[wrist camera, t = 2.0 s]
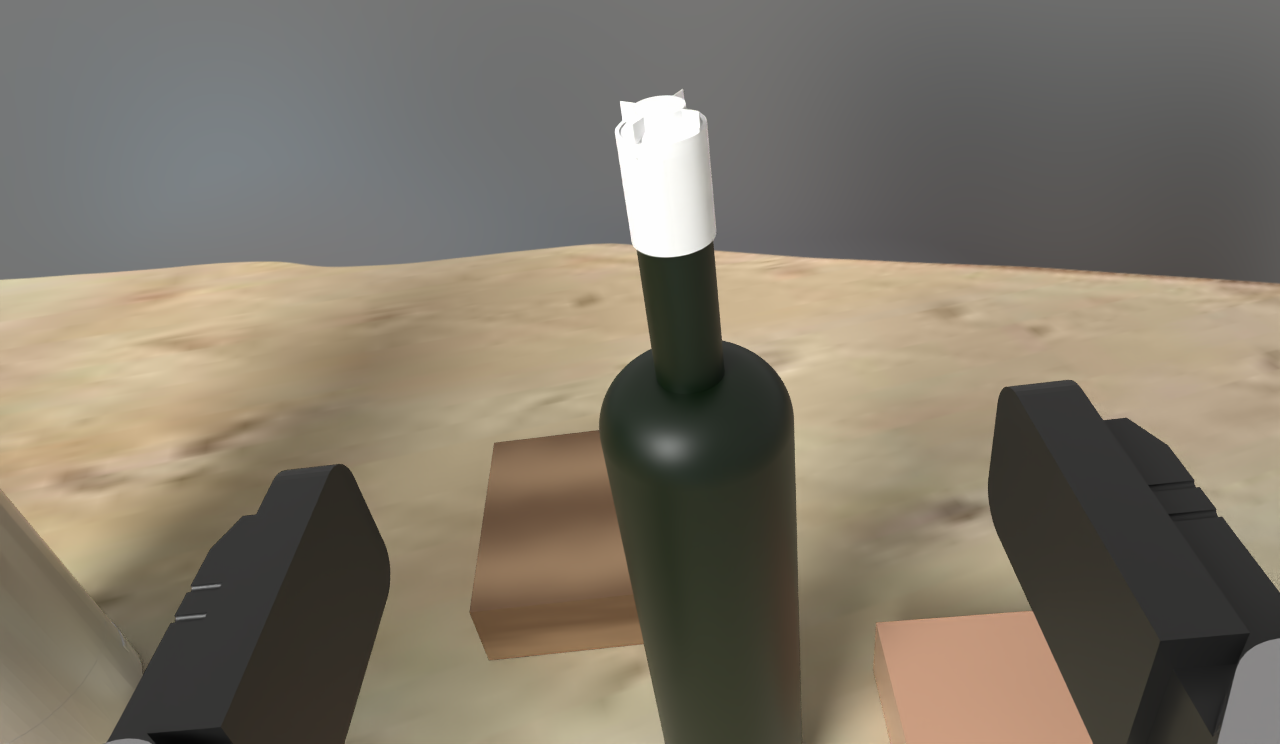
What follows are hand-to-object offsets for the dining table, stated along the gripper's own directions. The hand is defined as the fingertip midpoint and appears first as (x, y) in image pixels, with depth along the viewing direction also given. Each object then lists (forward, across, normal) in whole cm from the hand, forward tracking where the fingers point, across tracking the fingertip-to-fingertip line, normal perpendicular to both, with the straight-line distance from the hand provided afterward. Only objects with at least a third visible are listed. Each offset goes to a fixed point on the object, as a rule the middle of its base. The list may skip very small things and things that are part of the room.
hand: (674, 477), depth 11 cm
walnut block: (+25, -6, -29) cm, 39 cm away
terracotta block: (+13, +10, -30) cm, 34 cm away
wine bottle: (+13, 0, -29) cm, 32 cm away
